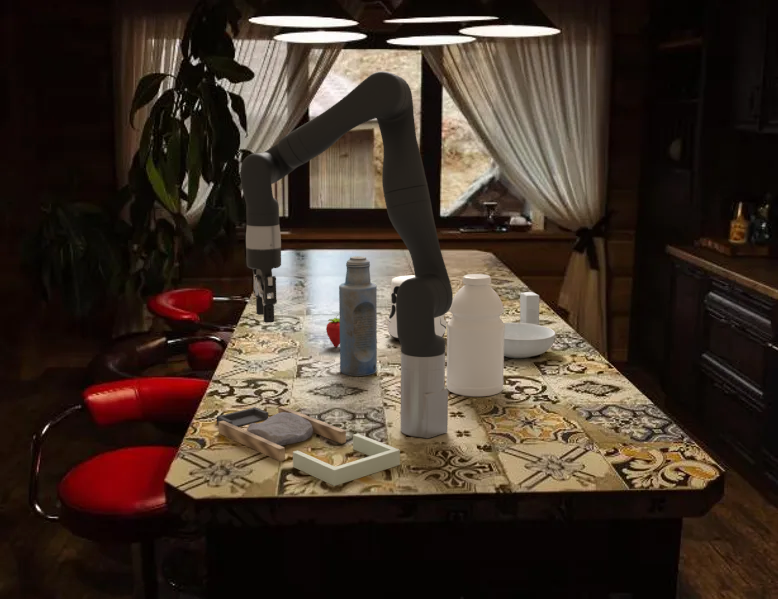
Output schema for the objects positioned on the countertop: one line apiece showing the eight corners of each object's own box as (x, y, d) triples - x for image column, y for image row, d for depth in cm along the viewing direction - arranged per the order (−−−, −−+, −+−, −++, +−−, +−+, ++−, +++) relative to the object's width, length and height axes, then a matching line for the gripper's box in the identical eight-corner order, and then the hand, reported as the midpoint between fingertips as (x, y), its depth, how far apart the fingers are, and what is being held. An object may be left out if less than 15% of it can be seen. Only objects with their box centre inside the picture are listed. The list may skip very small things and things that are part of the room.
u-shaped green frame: (399, 464, 184) (399, 449, 184) (334, 485, 174) (334, 470, 173) (357, 447, 194) (357, 433, 193) (293, 466, 183) (292, 451, 183)
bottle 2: (438, 393, 231) (440, 278, 225) (454, 379, 243) (456, 269, 238) (496, 400, 226) (498, 282, 220) (509, 384, 239) (512, 273, 233)
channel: (345, 442, 197) (345, 430, 196) (279, 461, 186) (279, 449, 186) (282, 417, 213) (282, 406, 212) (218, 433, 202) (218, 421, 202)
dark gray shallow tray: (268, 418, 212) (268, 412, 211) (229, 428, 205) (229, 421, 205) (255, 413, 215) (255, 407, 215) (216, 423, 209) (216, 416, 208)
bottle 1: (348, 378, 244) (347, 261, 238) (334, 368, 253) (333, 255, 247) (382, 374, 248) (382, 258, 242) (368, 365, 256) (368, 253, 251)
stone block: (317, 444, 201) (283, 425, 207) (319, 423, 200) (285, 405, 205) (276, 462, 193) (242, 441, 198) (278, 440, 191) (244, 421, 197)
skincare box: (539, 334, 292) (541, 295, 290) (525, 335, 291) (526, 295, 289) (532, 329, 298) (533, 291, 296) (518, 330, 297) (519, 291, 295)
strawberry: (345, 343, 280) (345, 310, 278) (348, 350, 272) (347, 315, 270) (325, 344, 279) (325, 310, 277) (327, 350, 271) (326, 316, 270)
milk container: (458, 341, 283) (459, 281, 280) (410, 349, 274) (410, 286, 270) (423, 330, 297) (423, 272, 294) (376, 337, 288) (376, 278, 284)
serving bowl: (520, 368, 254) (521, 342, 253) (463, 353, 270) (464, 329, 268) (570, 355, 268) (571, 331, 266) (513, 341, 283) (514, 318, 282)
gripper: (287, 249, 204) (288, 324, 207) (274, 240, 217) (275, 311, 220) (252, 250, 202) (254, 326, 205) (240, 241, 215) (242, 313, 218)
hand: (265, 318), depth 213 cm, fingers open, 8 cm apart
